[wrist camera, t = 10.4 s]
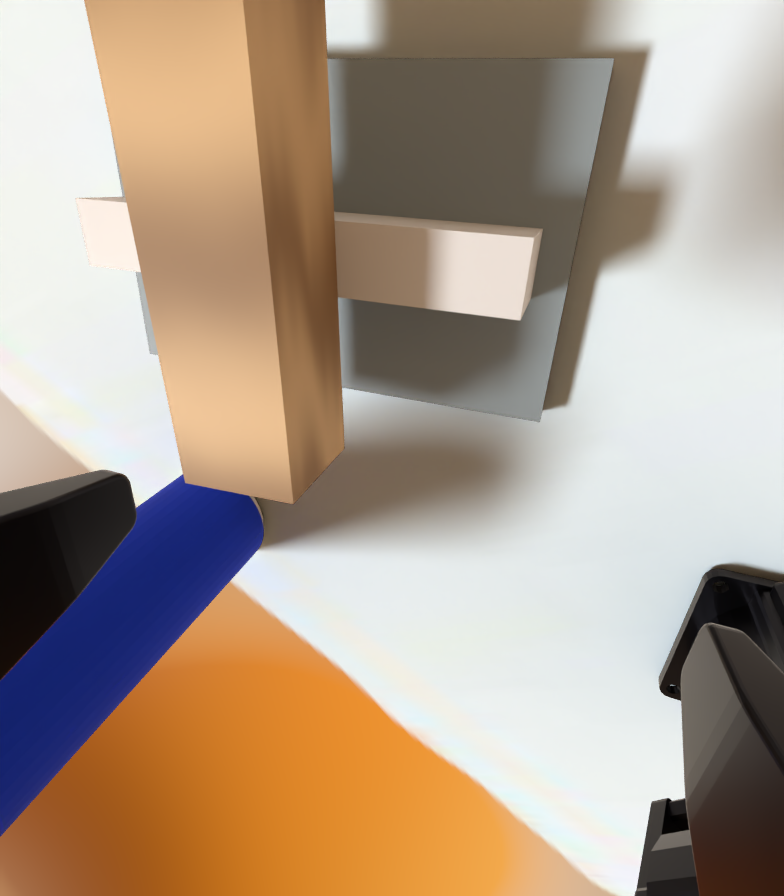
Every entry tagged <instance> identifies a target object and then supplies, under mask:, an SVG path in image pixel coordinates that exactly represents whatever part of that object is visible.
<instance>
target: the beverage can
mask: <svg viewBox="0 0 784 896" xmlns="http://www.w3.org/2000/svg"><path fill="white" fill-rule="evenodd" d="M136 512H137V519H136V523H135V525H134V527H133V528H132V530H131V531H130V532H129V534H128V535H127V536H126V537H125V539H124V540H123V541H122V543H121V544H120V545H119V546H118V548H117V549H116V550H115V551H114V553H113V554H112V555H111V557H110V558H109V559H108V560H107V562H106V563H105V564H104V565H103V567H102V568H101V569H100V571H99V572H98V573H97V574H96V576H95V577H94V578H93V579H92V581H91V582H90V583H89V585H88V586H87V587H86V588H85V589H84V591H83V592H82V593H81V594H80V596H79V597H78V598H77V599H76V600H75V601H74V602H73V604H72V605H71V606H70V607H69V608H68V609H67V610H66V611H65V612H64V613H63V615H62V616H61V617H60V618H59V619H58V620H57V621H56V622H55V623H54V624H53V625H52V626H51V627H50V628H49V629H48V631H47V632H46V633H45V634H44V635H43V636H42V637H41V638H40V639H39V640H38V641H37V642H36V643H35V644H34V645H33V647H32V648H31V649H30V650H29V651H28V652H27V653H26V654H25V655H24V656H23V657H22V658H21V659H20V660H19V661H18V663H17V664H16V665H15V666H14V667H13V668H12V669H11V670H10V671H9V672H8V673H7V674H6V675H5V676H4V677H3V679H2V680H1V681H0V836H1V835H2V834H3V833H4V832H5V831H6V830H7V829H8V828H9V826H10V825H11V824H12V823H13V822H14V821H15V820H16V819H17V818H18V816H19V815H20V814H21V813H22V812H23V811H24V810H25V809H26V807H27V806H28V805H29V804H30V803H31V802H32V801H33V800H34V799H35V798H36V796H37V795H38V794H39V793H40V792H41V791H42V790H43V789H44V787H45V786H46V785H47V784H48V783H49V782H50V781H51V780H52V778H53V777H54V776H55V775H56V774H57V773H58V772H59V771H60V770H61V769H62V767H63V766H64V765H65V764H66V763H67V762H68V761H69V760H70V759H71V757H72V756H73V755H74V754H75V753H76V752H77V751H78V750H79V749H80V747H81V746H82V745H83V744H84V743H85V742H86V741H87V740H88V738H89V737H90V736H91V735H92V734H93V733H94V732H95V731H96V730H97V728H98V727H99V726H100V725H101V724H102V723H103V722H104V721H105V719H106V718H107V717H108V716H109V715H110V714H111V713H112V712H113V710H115V708H116V707H117V706H118V705H119V704H120V703H121V702H122V701H123V699H124V698H125V697H126V696H127V695H128V694H129V693H130V692H131V691H132V689H133V688H134V687H135V686H136V685H137V684H138V683H139V682H140V680H141V679H142V678H143V677H144V676H145V675H146V674H147V673H148V672H149V671H150V669H151V668H152V667H153V666H154V665H155V664H156V663H157V662H158V660H159V659H160V658H161V657H162V656H163V655H164V654H165V653H166V652H167V650H168V649H169V648H170V647H171V646H172V645H173V644H174V643H175V642H176V640H177V639H178V638H179V637H180V636H181V635H182V634H183V633H184V632H185V630H186V629H187V628H188V627H189V626H190V625H191V624H192V622H193V621H194V620H195V619H196V618H197V617H198V616H199V615H200V614H201V612H203V610H204V609H205V608H206V607H207V606H208V605H209V604H210V603H211V601H212V600H213V599H214V598H215V597H216V596H217V595H218V594H219V593H220V591H221V590H222V589H223V588H224V587H225V586H226V585H227V584H228V583H229V581H230V580H231V579H232V578H233V577H234V576H235V575H236V574H237V573H238V571H239V570H240V569H241V568H242V567H243V566H244V565H245V564H246V563H247V561H248V560H249V559H250V558H251V557H252V556H253V555H254V554H255V552H256V551H257V550H258V549H259V547H260V546H261V543H262V540H263V536H264V524H263V516H262V512H261V509H260V507H259V504H258V502H257V501H256V499H255V497H254V496H249V495H243V494H238V493H233V492H228V491H223V490H218V489H213V488H208V487H203V486H198V485H193V484H188V483H185V480H184V476H183V475H181V476H180V477H179V478H177V479H176V480H174V481H173V482H172V483H170V484H169V485H167V486H166V487H165V488H163V489H162V490H160V491H159V492H158V493H156V494H155V495H154V496H152V497H151V498H149V499H148V500H147V501H145V502H144V503H142V504H141V505H140V506H138V507H137V508H136Z"/></svg>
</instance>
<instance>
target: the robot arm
mask: <svg viewBox="0 0 784 896" xmlns="http://www.w3.org/2000/svg"><path fill="white" fill-rule="evenodd" d="M136 519H137V512H136V507H135V503H134V498H133V493H132V489H131V484H130V481H129V479H128V478H127V477H126V476H125V475H123V474H121V473H117V472H113V471H109V470H98V471H94V472H90V473H85V474H81V475H77V476H73V477H69V478H64V479H59V480H55V481H51V482H46V483H42V484H38V485H34V486H29V487H25V488H21V489H17V490H12V491H8V492H3V493H0V681H1V680H2V679H3V677H4V676H5V675H6V674H7V673H8V672H9V671H10V670H11V669H12V668H13V667H14V666H15V665H16V664H17V663H18V661H19V660H20V659H21V658H22V657H23V656H24V655H25V654H26V653H27V652H28V651H29V650H30V649H31V648H32V647H33V645H34V644H35V643H36V642H37V641H38V640H39V639H40V638H41V637H42V636H43V635H44V634H45V633H46V632H47V631H48V629H49V628H50V627H51V626H52V625H53V624H54V623H55V622H56V621H57V620H58V619H59V618H60V617H61V616H62V615H63V613H64V612H65V611H66V610H67V609H68V608H69V607H70V606H71V605H72V604H73V602H74V601H75V600H76V599H77V598H78V597H79V596H80V594H81V593H82V592H83V591H84V589H85V588H86V587H87V586H88V585H89V583H90V582H91V581H92V579H93V578H94V577H95V576H96V574H97V573H98V572H99V571H100V569H101V568H102V567H103V565H104V564H105V563H106V562H107V560H108V559H109V558H110V557H111V555H112V554H113V553H114V551H115V550H116V549H117V548H118V546H119V545H120V544H121V543H122V541H123V540H124V539H125V537H126V536H127V535H128V534H129V532H130V531H131V530H132V528H133V527H134V525H135V523H136ZM716 582H725V583H724V584H723V585H720V586H718V585H714V583H716ZM670 685H675V686H670ZM659 688H660V690H661V692H662V693H663V694H664V695H665V696H668V697H670V698H674V699H677V700H680V701H681V706H682V731H683V756H684V782H685V798H684V799H679V800H674V801H672V800H670V799H669V798H666V799H662V800H657V801H653V802H652V803H651V808H650V814H649V820H648V826H647V832H646V838H645V844H644V849H643V855H642V861H641V867H640V873H639V879H638V885H637V890H636V892H635V896H784V582H776V581H772V580H768V579H763V578H759V577H754V576H750V575H746V574H741V573H737V572H732V571H728V570H724V569H713V570H710V571H708V572H706V573H705V574H704V576H703V577H702V580H701V582H700V584H699V587H698V589H697V591H696V594H695V596H694V598H693V600H692V603H691V605H690V607H689V610H688V612H687V614H686V616H685V619H684V621H683V623H682V626H681V628H680V630H679V633H678V635H677V637H676V639H675V642H674V644H673V646H672V649H671V651H670V653H669V656H668V658H667V660H666V662H665V665H664V667H663V669H662V672H661V674H660V676H659Z"/></svg>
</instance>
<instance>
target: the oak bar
mask: <svg viewBox="0 0 784 896" xmlns="http://www.w3.org/2000/svg"><path fill="white" fill-rule="evenodd" d="M84 1H85V6H86V11H87V16H88V21H89V25H90V30H91V35H92V40H93V45H94V49H95V54H96V59H97V64H98V68H99V73H100V78H101V83H102V88H103V92H104V97H105V102H106V107H107V112H108V116H109V121H110V126H111V131H112V135H113V140H114V145H115V150H116V155H117V159H118V164H119V169H120V174H121V179H122V183H123V188H124V193H125V198H126V203H127V207H128V212H129V217H130V222H131V226H132V231H133V236H134V241H135V246H136V250H137V255H138V260H139V265H140V270H141V274H142V279H143V284H144V289H145V294H146V298H147V303H148V308H149V313H150V317H151V322H152V327H153V332H154V337H155V341H156V346H157V351H158V356H159V361H160V365H161V370H162V375H163V380H164V385H165V389H166V394H167V399H168V404H169V408H170V413H171V418H172V423H173V428H174V432H175V437H176V442H177V447H178V452H179V456H180V461H181V466H182V471H183V476H184V480H185V483H188V484H193V485H198V486H203V487H208V488H213V489H218V490H223V491H228V492H233V493H238V494H243V495H249V496H254V497H259V498H264V499H269V500H274V501H279V502H284V503H289V504H294V503H295V502H296V501H297V500H298V499H299V498H300V497H301V496H302V494H303V493H304V492H305V491H306V490H307V489H308V488H309V487H310V486H311V485H312V483H313V482H314V481H315V480H316V479H317V478H318V477H319V476H320V475H321V474H322V473H323V471H324V470H325V469H326V468H327V467H328V466H329V465H330V464H331V463H332V462H333V461H334V459H335V458H336V457H337V456H338V455H339V454H340V453H341V452H342V451H343V450H344V448H345V447H344V425H343V402H342V380H341V357H340V334H339V312H338V289H337V267H336V244H335V222H334V199H333V176H332V154H331V131H330V109H329V86H328V63H327V41H326V18H325V0H84Z"/></svg>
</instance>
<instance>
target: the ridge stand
mask: <svg viewBox="0 0 784 896" xmlns="http://www.w3.org/2000/svg"><path fill="white" fill-rule="evenodd" d="M327 63H328V86H329V109H330V131H331V154H332V176H333V199H334V222H335V244H336V267H337V289H338V312H339V334H340V357H341V380H342V387H343V388H348V389H354V390H360V391H365V392H371V393H377V394H382V395H388V396H394V397H400V398H405V399H411V400H417V401H422V402H428V403H434V404H439V405H445V406H451V407H456V408H462V409H468V410H473V411H479V412H485V413H491V414H496V415H502V416H508V417H513V418H519V419H525V420H530V421H536V422H540V419H541V414H542V409H543V404H544V399H545V394H546V390H547V385H548V380H549V375H550V370H551V365H552V360H553V355H554V351H555V346H556V341H557V336H558V331H559V326H560V321H561V316H562V311H563V307H564V302H565V297H566V292H567V287H568V282H569V277H570V272H571V268H572V263H573V258H574V253H575V248H576V243H577V238H578V233H579V228H580V224H581V219H582V214H583V209H584V204H585V199H586V194H587V189H588V185H589V180H590V175H591V170H592V165H593V160H594V155H595V150H596V146H597V141H598V136H599V131H600V126H601V121H602V116H603V111H604V106H605V102H606V97H607V92H608V87H609V82H610V77H611V72H612V67H613V63H614V58H465V59H327ZM111 132H112V131H111ZM112 137H113V135H112ZM113 143H114V140H113ZM114 149H115V145H114ZM115 155H116V150H115ZM116 160H117V166H118V172H119V178H120V184H121V189H122V195H123V197H100V198H76V203H77V208H78V213H79V217H80V222H81V227H82V231H83V236H84V241H85V246H86V250H87V255H88V260H89V264H90V266H97V267H105V268H112V269H120V270H128V271H136V276H137V282H138V287H139V293H140V299H141V305H142V310H143V316H144V322H145V328H146V334H147V339H148V345H149V351H150V354H155V355H158V351H157V346H156V341H155V337H154V332H153V327H152V322H151V317H150V313H149V308H148V303H147V298H146V294H145V289H144V284H143V279H142V274H141V270H140V265H139V260H138V255H137V250H136V246H135V241H134V236H133V231H132V226H131V222H130V217H129V212H128V207H127V203H126V198H125V193H124V188H123V183H122V179H121V174H120V169H119V164H118V159H117V155H116Z"/></svg>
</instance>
